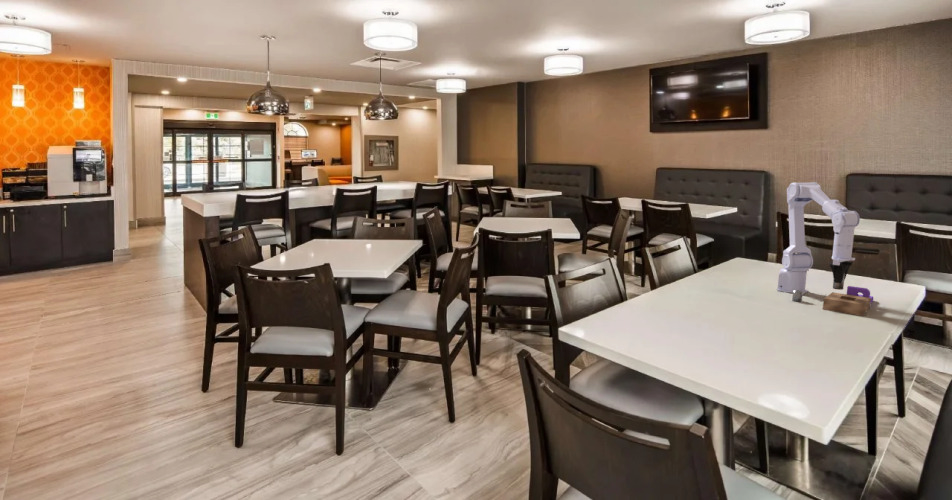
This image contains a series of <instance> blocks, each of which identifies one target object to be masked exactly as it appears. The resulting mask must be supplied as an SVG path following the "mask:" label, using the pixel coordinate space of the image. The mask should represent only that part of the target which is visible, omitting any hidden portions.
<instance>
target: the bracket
mask: <svg viewBox="0 0 952 500" xmlns="http://www.w3.org/2000/svg"><path fill="white" fill-rule="evenodd" d="M859 293H860V294H859ZM846 294H847V295H854V296H861V297H868V298H871V303H870V305H871V304H872V303H873V302H874V296H872V295H871V290H870V289H868V288H866V287H860V286H854V285H853V286H852V285H848V286H847V289H846Z"/></svg>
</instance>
